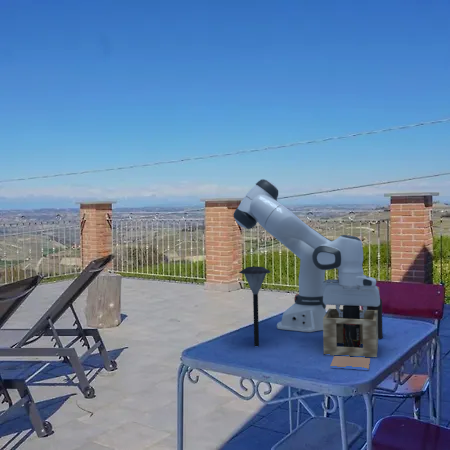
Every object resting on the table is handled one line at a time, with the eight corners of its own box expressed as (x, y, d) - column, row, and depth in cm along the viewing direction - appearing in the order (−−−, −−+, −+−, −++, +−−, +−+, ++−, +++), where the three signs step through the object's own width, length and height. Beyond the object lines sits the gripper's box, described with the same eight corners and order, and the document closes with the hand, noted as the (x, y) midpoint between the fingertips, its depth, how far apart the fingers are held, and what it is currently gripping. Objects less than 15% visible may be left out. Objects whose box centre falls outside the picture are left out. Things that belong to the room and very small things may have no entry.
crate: (323, 354, 183) (323, 318, 183) (329, 342, 200) (329, 308, 200) (376, 358, 178) (376, 320, 177) (378, 344, 195) (377, 310, 194)
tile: (330, 368, 168) (330, 365, 168) (334, 357, 179) (334, 355, 179) (368, 371, 164) (368, 368, 164) (370, 360, 176) (370, 357, 176)
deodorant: (357, 350, 185) (356, 308, 185) (341, 348, 188) (340, 307, 188) (362, 346, 190) (361, 305, 190) (346, 344, 193) (346, 304, 193)
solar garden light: (275, 342, 201) (274, 265, 200) (268, 351, 189) (267, 269, 188) (245, 341, 205) (243, 265, 204) (236, 349, 193) (234, 269, 192)
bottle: (364, 338, 204) (363, 288, 203) (365, 334, 210) (364, 285, 210) (382, 340, 202) (381, 288, 201) (383, 335, 208) (382, 286, 207)
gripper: (321, 280, 189) (321, 318, 189) (379, 281, 182) (380, 320, 183) (323, 278, 195) (323, 314, 195) (380, 279, 188) (380, 317, 189)
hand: (351, 317), depth 189 cm, fingers closed on deodorant, 6 cm apart
